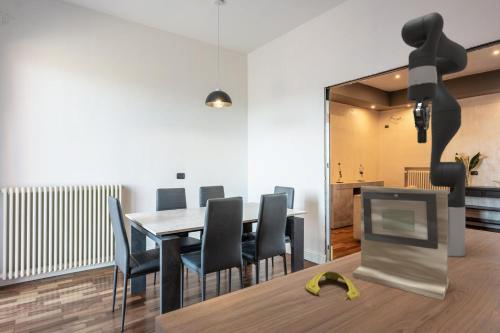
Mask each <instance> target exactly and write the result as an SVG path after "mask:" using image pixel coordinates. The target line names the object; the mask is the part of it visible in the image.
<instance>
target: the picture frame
mask: <svg viewBox="0 0 500 333" xmlns="http://www.w3.org/2000/svg"><path fill="white" fill-rule="evenodd" d="M363 210H364V237H365V240H371V241H378V242H386V243H393V244H401V245H408V246H416V247H423V248H431V249H438V229H437V203H436V193H401V192H363Z"/></svg>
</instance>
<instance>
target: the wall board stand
mask: <svg viewBox="0 0 500 333" xmlns="http://www.w3.org/2000/svg"><path fill="white" fill-rule="evenodd" d="M363 192H401V193H436V203H437V229H438V249H431V248H423V247H416V246H408V245H401V244H393V243H386V242H378V241H371V240H365V237H364V210H363ZM448 194H449V193H448V189H437V188H436V189H435V188H434V189H433V188H417V187H415V188H413V187H412V188H411V187H393V186H391V187H390V186H388V187H387V186H369V185H368V186H367V185H361V186H360V265H359V267H357V268H356V269H355V270H354V271H352V278H354V279H357V280H358V279H359V280H362V281H365V282H366V281H367V282H370V283H374V284H378V285H381V286H385V287H389V288H393V289H397V290H400V291H401V290H402V291H405V292H409V293H414V294H418V295H422V296H425V297H429V298H432V299H436V300H440V301H444V300H445V297H446V294H447V291H448V288H449V285H450V278H448V276H449V275H448V274H449V272H448V270H449V269H448V267H449V266H448V264H449V263H448V257H449V256H448Z"/></svg>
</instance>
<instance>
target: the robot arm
mask: <svg viewBox="0 0 500 333" xmlns="http://www.w3.org/2000/svg"><path fill="white" fill-rule="evenodd" d="M444 25H445V24H444V18H443V16H442V14H440V12H437V11H436V12H430V13H427V14H425V15H422V16H419V17H416V18H413V19H410V20H408V21H406V22H405V23H404V24H403V26H402V28H401V34H400V35H401V39H402V41H403V42H404V44H406V45H407V46H408V47H411V48H415V49H413V50H412V51H411V52H410V53H409V54H408V72H407V101H408V103H410V104H414V105H415V106H414V107H413V109H412V114H413V121H414V128H415V129H416V131H417V132H416V133H417V138H416V139H417V143H418V144H426V143H427V142H428V130H429V128H431V129H430V130H431V148H430V149H431V150H430V163H429V181H430V185H431V186H433V187H437V188H453V189H454V190H452V191H451V192H449V193H448V257H457V258H458V257H465V256H466V184H467V183H466V181H467V167H466V164H465V163H464V162H463V161H441V159H442V156H443V154H444V152H445V150H446V148H447V146H448V145H449V143H450V142H451V141H452V140H453V138H454V137H455V136H456V135H457V133H458V131H459V130H460V128H461V127H462V107H461V105H460V103H459V102H458V100H457V99H456V98H455V97H454V96H453V94H451V93H450V91H449V90H448V88H447V87H446V86H445V84H444V81H443V76H445V75H446V76H447V75H451V74H457V73H460V72H462V71H465V69H466V68H467V65H468V62H469V60H468V52H467V50H466V48H465V47H464V46H463V45H462V44H459V43H458V42H456V41H453V40H452V39H450V38H449V37H448V36H447V35H446V34H445V32H444V31H443V30H444ZM429 102H431V106H430V105H429Z"/></svg>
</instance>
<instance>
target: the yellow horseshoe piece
mask: <svg viewBox="0 0 500 333" xmlns="http://www.w3.org/2000/svg"><path fill="white" fill-rule="evenodd" d="M322 277H325V279H327V280H334V281H336V280H339V279H340V280H343V281H344V282H345V283H346V285H347V287H348V291H347V292H346V295H347V297H345V298H344V300H347V299H348V298H349V300H350V301H352V300H354V299H358V298H360V297H361V296H360V291H359V290H358V289H357V287H356V286H355V285H354V284H353V283H352V281H351V280H350V279H349V278H347V277H346V276H345V275H342V274H341V273H339V272H337V271H334V270H327V271H326V270H325V271H321V272H319V273H318V274H315V276H313V277H312V278H311V279H310V280H309V281H308V282H307V283H306V284H305V288H306V290H307V291H309V292H310V293H313V294H315V295H316V296H317V295H319V297H321V295H320V292H319V291H320V290H321V289H320V286H319V281H320V280H321V278H322Z"/></svg>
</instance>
